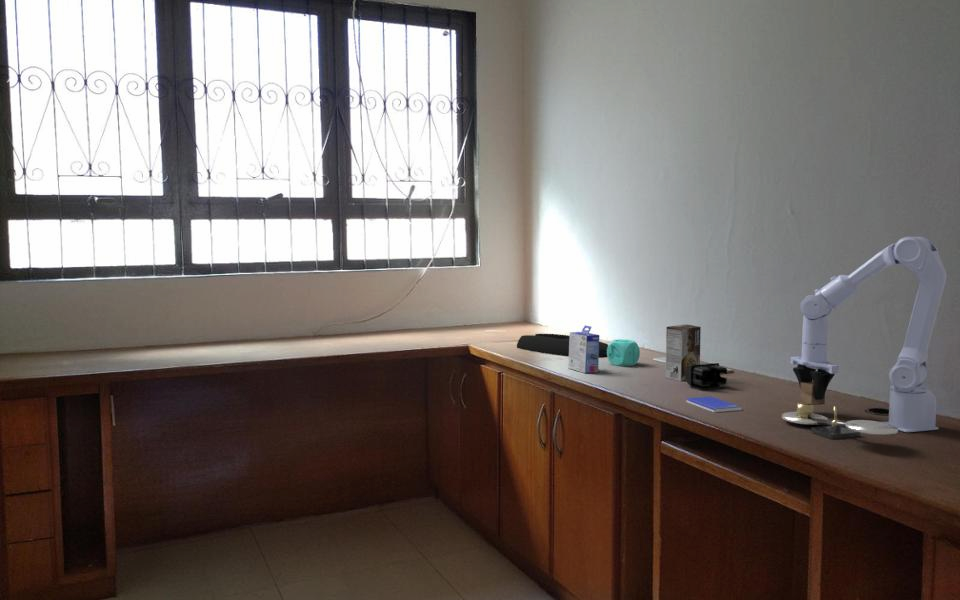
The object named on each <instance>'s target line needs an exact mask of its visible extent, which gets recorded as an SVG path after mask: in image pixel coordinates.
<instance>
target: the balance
mask: <svg viewBox="0 0 960 600" xmlns="http://www.w3.org/2000/svg"><path fill="white" fill-rule="evenodd" d="M814 406H815V405H813V404H810V403H802V402H797V403H796V411H787V412H784V413H781V418H782V420H784V421H787V422H789V423H794V424H800V425H811V426H812V425H813V426H815V425H817V426H818V425H822V426H818V427H817V426H816V427H811V429H810V431H811V432H810V433H813V434H815V435H818V436H821V437H824V438H827V439H829V440H838V439H846V438H847V439H848V438H856V437H857V438H859V437H861V434H865V435H866V434H867V435H872V436H873V435H875V436H891V435H896V434H898V433H899V430H898V428H897V427H896V426H894V425H891V424H888V423H883V422H884V421H876V420H866V419H855V420H854V419H852V420H847V421H846V422H845V421H841V420H839V419H838V409H837V406H836V405H834V406H833V418H834V419H833V420H830V419H828V417H826V416H825V415H822V414H818V413H814ZM823 425H824V426H823Z"/></svg>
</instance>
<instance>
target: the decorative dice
mask: <svg viewBox="0 0 960 600" xmlns="http://www.w3.org/2000/svg"><path fill="white" fill-rule="evenodd" d="M608 345H609V346H608V348H607V360H608V361H609V363H610V364H611V365H613V366H617V367H633V366H635V365H636V364H637V363H638V361H639V360H640V355H641V350H640V346H639V344H638V343H637V342H636V341H635V340H632V339H622V338H620V339H612V340H611V342H610V343H609V344H608Z"/></svg>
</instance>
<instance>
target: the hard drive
mask: <svg viewBox="0 0 960 600" xmlns="http://www.w3.org/2000/svg"><path fill="white" fill-rule="evenodd" d="M685 401H686V402H685V403H688V404H690V405H693V406H697V407H699V408H701V409H704V410H707V411H708V412H711V411H712V413H722V412H738V411H742V406H740V405H737V404H734V403H731V402H728V401H725V400H723V399H720V398H716V397H714V396H701V397H700V396H699V397H688V398H686V400H685Z"/></svg>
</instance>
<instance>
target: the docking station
mask: <svg viewBox="0 0 960 600" xmlns="http://www.w3.org/2000/svg"><path fill="white" fill-rule="evenodd" d="M569 340H570V334H569V335H566V334H557V333H535V334H532V335H531V334H529V335H526V334H525V335H521V336H520V338H519V339H518V341H517V343H516V348H517V349H521V350H525V351H529V352H535V353H540V354H546V355H554V356H560V357H561V356H563V357H568V358H569ZM608 346H609V344H608V343H605V342H602V341H599V358H605V357H607V348H608ZM607 358H608V357H607Z"/></svg>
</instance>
